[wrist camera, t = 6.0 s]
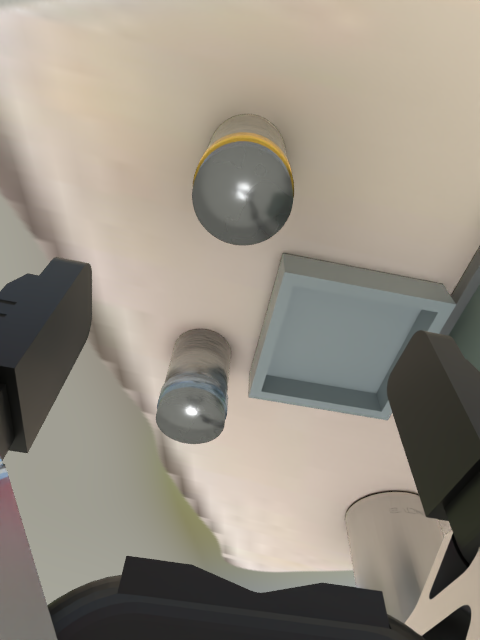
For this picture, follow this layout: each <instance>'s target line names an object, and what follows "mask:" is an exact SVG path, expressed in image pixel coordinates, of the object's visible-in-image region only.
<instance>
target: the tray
mask: <svg viewBox="0 0 480 640" xmlns="http://www.w3.org/2000/svg"><path fill="white" fill-rule="evenodd" d="M455 306H456V303H455V302H454V300H453V299H452V297H451V296H450V295H449V293H448V292H447V290H446V289H445V287H444V286H443V284H440V283H435V282H430V281H424V280H419V279H414V278H409V277H404V276H399V275H393V274H388V273H383V272H378V271H373V270H368V269H362V268H357V267H352V266H347V265H342V264H336V263H331V262H326V261H321V260H316V259H311V258H305V257H300V256H295V255H290V254H285V253H283V255H282V258H281V262H280V266H279V269H278V273H277V276H276V280H275V284H274V287H273V291H272V294H271V298H270V302H269V305H268V309H267V312H266V316H265V320H264V323H263V327H262V330H261V334H260V338H259V341H258V345H257V348H256V352H255V356H254V359H253V363H252V366H251V370H250V373H249V396H248V397H250V398H256V399H263V400H269V401H275V402H281V403H287V404H293V405H299V406H305V407H311V408H317V409H323V410H329V411H335V412H341V413H347V414H353V415H359V416H365V417H371V418H377V419H383V420H388V419H389V417H390V415H391V414H392V410H391V407H390V404H389V400H388V397H387V383H388V379H389V376H390V374H391V372H392V370H393V368H394V366H395V365H396V363H397V361H398V360H399V358H400V356H401V354H402V353H403V351H404V349H405V348H406V346H407V344H408V343H409V341H410V339H411V337H412V336H413V335H414V333H416V332H417V331H419V330H423V331H428V332H433V333H438V334H439V333H440V331H441V329H442V328H443V326H444V324H445V323H446V321H447V319H448V318H449V316H450V314H451V313H452V311H453V309H454V308H455Z"/></svg>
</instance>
